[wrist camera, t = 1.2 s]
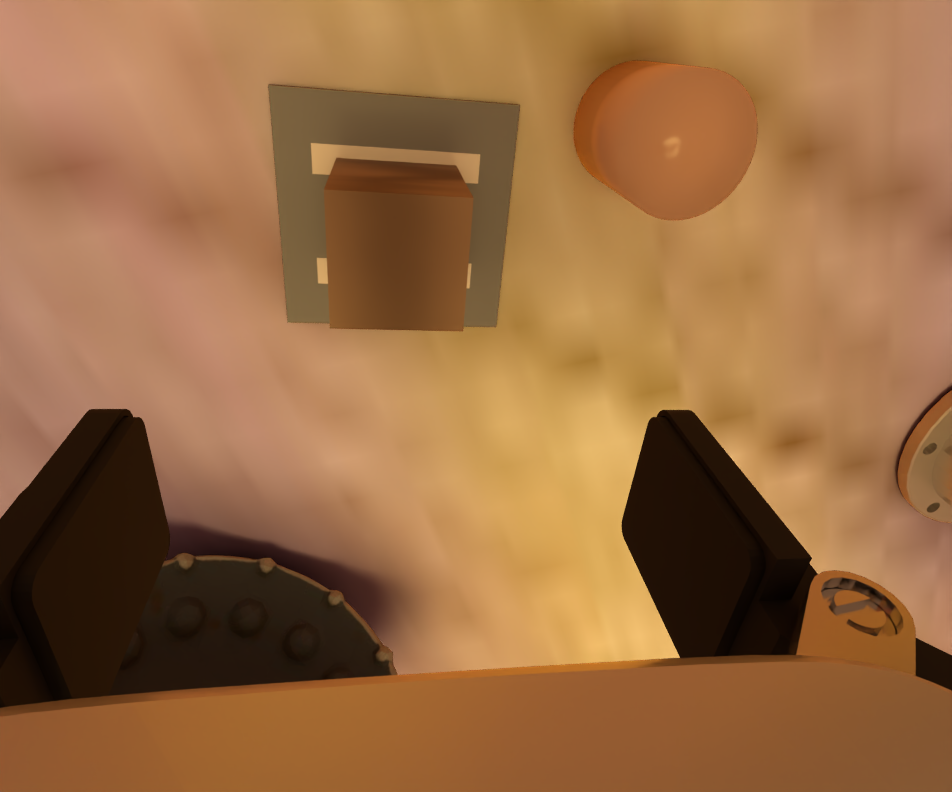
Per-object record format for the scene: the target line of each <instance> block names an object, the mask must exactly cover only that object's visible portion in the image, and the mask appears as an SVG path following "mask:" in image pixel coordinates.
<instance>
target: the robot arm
mask: <svg viewBox="0 0 952 792" xmlns="http://www.w3.org/2000/svg"><path fill="white" fill-rule="evenodd" d="M898 484H899V488H900V490H901V493H902V495H903V497H904V498H905V499H906V500H907V501H908V503H909V504H910V505H911V506H912V507H914V508H915V509H916V510H917V511H918V512H919V513H921V514H922V515H923V516H925V517H927V518H930V519H932V520H935V521H940V522H946V523H952V390H951V391H950V392H948V393H947V394H946V395H945V396H943V397H942V398H941V399H940V400H939V401H938V402H937V403H936V404H935V405H934V406H933V407H932V408H931V409H930V410H929V411H928V412H927V413H926V415H925V416H924V417H923V418H922V420H921V421H920V422H919V423H918V425H917V426H916V427H915V429H914V430H913V432H912V434H911V436H910V437H909V439H908V441H907V442H906V444H905V447H904V450H903V452H902V455H901V458H900V462H899V468H898ZM622 533H623V537H624V540H625V542H626V544H627V546H628V548H629V550H630V552H631V554H632V557H633V559H634V561H635V563H636V565H637V567H638V569H639V571H640V574H641V576H642V578H643V580H644V582H645V584H646V586H647V588H648V591H649V593H650V595H651V597H652V599H653V601H654V603H655V605H656V608H657V610H658V612H659V614H660V616H661V618H662V620H663V622H664V624H665V627H666V629H667V631H668V633H669V635H670V637H671V639H672V641H673V644H674V646H675V648H676V650H677V652H678V654H679V656H680V658H668V659H651V660H634V661H617V662H599V663H582V664H565V665H548V666H531V667H515V668H499V669H483V670H467V671H451V672H435V673H420V674H405V675H389V676H374V677H358V678H343V679H329V680H314V681H300V682H285V683H271V684H257V685H242V686H228V687H213V688H199V689H184V690H172V691H161V692H149V693H137V694H125V695H113V696H108V694H109V692H110V689H111V687H112V685H113V682H114V680H115V677H116V675H117V673H118V670H119V668H120V665H121V663H122V661H123V658H124V656H125V654H126V651H127V649H128V646H129V644H130V642H131V639H132V637H133V634H134V632H135V630H136V627H137V625H138V622H139V620H140V618H141V615H142V613H143V611H144V608H145V606H146V603H147V601H148V599H149V596H150V594H151V591H152V589H153V587H154V584H155V582H156V580H157V577H158V575H159V572H160V570H161V568H162V565H163V563H164V560H165V558H166V556H167V553H168V550H169V545H170V533H169V528H168V523H167V519H166V515H165V510H164V506H163V502H162V498H161V493H160V489H159V485H158V480H157V476H156V472H155V468H154V463H153V459H152V455H151V450H150V446H149V442H148V437H147V433H146V429H145V425H144V422H143V420H142V419H141V418H140V417H133V415H132V414H131V412H130V411H129V410H127V409H91V410H89V411H88V412H87V413H86V414H85V415H84V416H83V418H82V419H81V420H80V421H79V423H78V424H77V425H76V426H75V428H74V429H73V430H72V432H71V433H70V434H69V435H68V437H67V438H66V439H65V440H64V442H63V443H62V444H61V445H60V447H59V448H58V449H57V451H56V452H55V453H54V454H53V456H52V457H51V458H50V459H49V461H48V462H47V463H46V465H45V466H44V467H43V468H42V470H41V471H40V472H39V473H38V475H37V476H36V477H35V478H34V480H33V481H32V482H31V484H30V485H29V486H28V487H27V488H26V489H25V490H24V491H23V492H22V493H21V494H20V495H19V496H18V497H17V499H16V500H15V501H14V502H13V504H12V505H11V506H10V507H9V509H8V510H7V511H6V512H5V514H4V515H3V516H2V517H1V519H0V792H952V655H950V654H948V653H946V652H944V651H941V650H939V649H937V648H935V647H933V646H931V645H929V644H927V643H925V642H923V641H921V640H919V639H917V638H916V630H915V625H914V621H913V618H912V616H911V615H910V613H909V611H908V610H907V608H906V607H905V606H904V605H903V604H902V603H901V602H900V601H899V600H898V599H897V598H896V597H895V596H894V595H893V594H892V593H890V592H889V591H888V590H886V589H885V588H883V587H882V586H881V585H879V584H877V583H875V582H873V581H871V580H869V579H867V578H865V577H862V576H859V575H856V574H853V573H850V572H844V571H837V570H833V571H824V572H822V573H820V574H817V572H816V571H815V570H814V569H813V567H812V566H811V565H810V564H809V563H810V561H811V559H812V557H811V556H810V555H809V554H808V553H807V551H806V550H805V549H804V548H803V546H802V545H801V544H800V543H799V541H798V540H797V539H796V538H795V537H794V535H793V534H792V533H791V532H790V530H789V529H788V528H787V527H786V525H785V524H784V523H783V522H782V520H781V519H780V518H779V517H778V516H777V514H776V513H775V512H774V511H773V509H772V508H771V507H770V506H769V504H768V503H767V502H766V501H765V500H764V498H763V497H762V496H761V495H760V493H759V492H758V491H757V490H756V488H755V487H754V486H753V485H752V484H751V482H750V481H749V480H748V479H747V477H746V476H745V475H744V474H743V472H742V471H741V470H740V469H739V468H738V466H737V465H736V464H735V463H734V461H733V460H732V459H731V458H730V456H729V455H728V454H727V453H726V452H725V450H724V449H723V448H722V447H721V445H720V444H719V443H718V442H717V440H716V439H715V438H714V437H713V436H712V434H711V433H710V432H709V431H708V429H707V428H706V427H705V426H704V424H703V423H702V422H701V421H700V419H699V418H698V417H697V416H696V415H695V413H693V412H692V411H690V410H662V411H660V412H659V413H658V415H657V417H653V418H651V419H650V420H649V423H648V426H647V429H646V433H645V437H644V440H643V444H642V448H641V452H640V455H639V459H638V463H637V467H636V470H635V474H634V478H633V481H632V485H631V489H630V493H629V496H628V500H627V504H626V508H625V511H624V515H623V519H622Z"/></svg>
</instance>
